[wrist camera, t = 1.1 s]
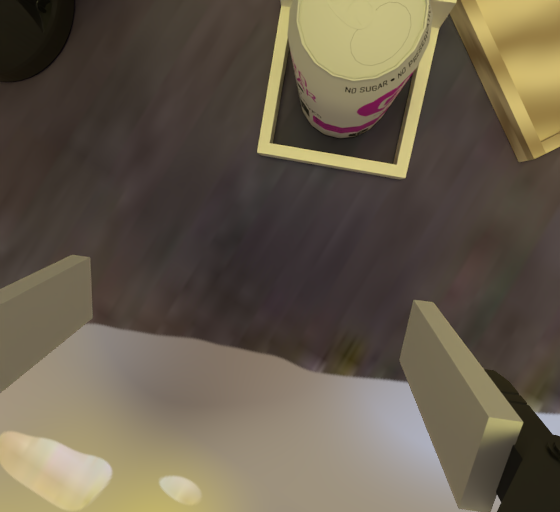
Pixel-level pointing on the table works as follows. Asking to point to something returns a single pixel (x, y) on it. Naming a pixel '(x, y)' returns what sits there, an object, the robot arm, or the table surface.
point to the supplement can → (354, 58)
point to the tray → (517, 66)
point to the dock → (441, 7)
